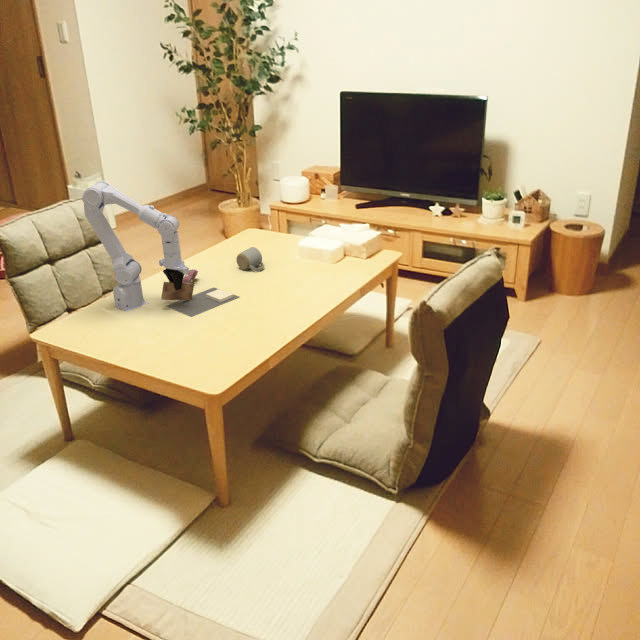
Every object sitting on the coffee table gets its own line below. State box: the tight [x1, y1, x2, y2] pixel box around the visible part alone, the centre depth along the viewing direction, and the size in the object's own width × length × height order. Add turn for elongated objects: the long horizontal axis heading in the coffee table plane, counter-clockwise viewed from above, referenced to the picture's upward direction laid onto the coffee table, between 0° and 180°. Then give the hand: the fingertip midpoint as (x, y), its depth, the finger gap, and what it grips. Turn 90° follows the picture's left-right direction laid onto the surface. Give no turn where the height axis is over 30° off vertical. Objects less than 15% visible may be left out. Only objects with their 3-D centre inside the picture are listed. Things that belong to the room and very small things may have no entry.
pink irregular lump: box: [182, 268, 199, 283], centre depth 253 cm, size 10×5×7 cm, turn 169°
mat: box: [165, 287, 241, 318], centre depth 237 cm, size 22×15×1 cm
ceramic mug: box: [236, 246, 265, 272], centre depth 267 cm, size 11×8×8 cm
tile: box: [206, 288, 234, 303], centre depth 240 cm, size 1×8×6 cm
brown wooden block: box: [160, 281, 195, 301], centre depth 234 cm, size 12×2×6 cm, turn 138°
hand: (176, 288), depth 233 cm, fingers closed on brown wooden block, 1 cm apart
